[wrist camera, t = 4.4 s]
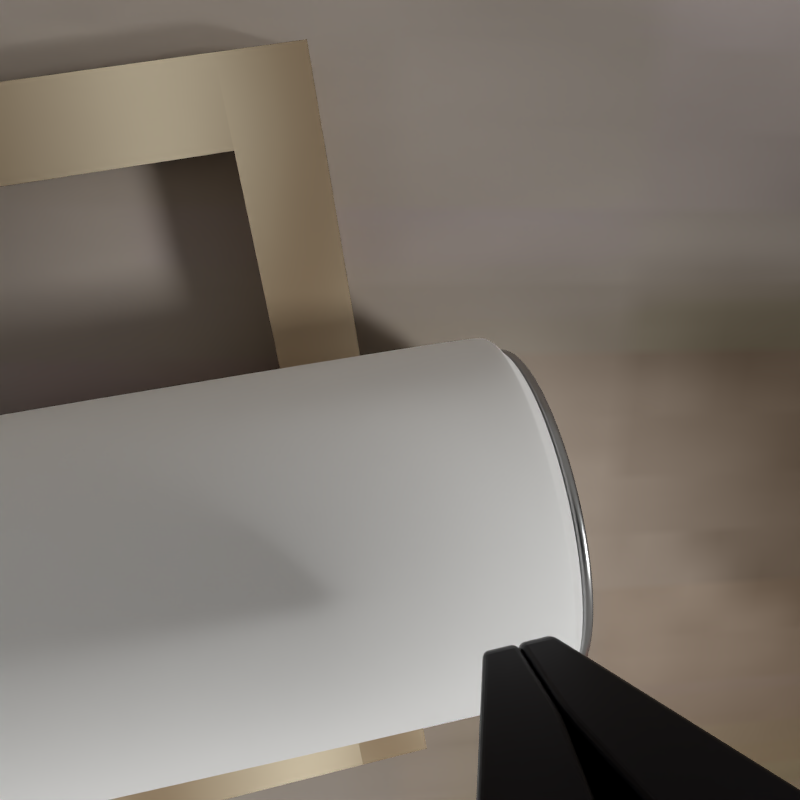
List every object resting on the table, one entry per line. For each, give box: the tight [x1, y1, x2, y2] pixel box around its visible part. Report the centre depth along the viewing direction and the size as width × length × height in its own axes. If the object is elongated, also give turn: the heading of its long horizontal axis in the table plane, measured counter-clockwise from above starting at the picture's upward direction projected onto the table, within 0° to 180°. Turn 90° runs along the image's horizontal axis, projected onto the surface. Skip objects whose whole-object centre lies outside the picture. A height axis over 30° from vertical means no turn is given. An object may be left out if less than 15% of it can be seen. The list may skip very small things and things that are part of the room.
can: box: [0, 338, 593, 800], centre depth 13 cm, size 6×6×12 cm
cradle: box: [0, 39, 427, 800], centre depth 15 cm, size 10×15×2 cm, turn 8°
